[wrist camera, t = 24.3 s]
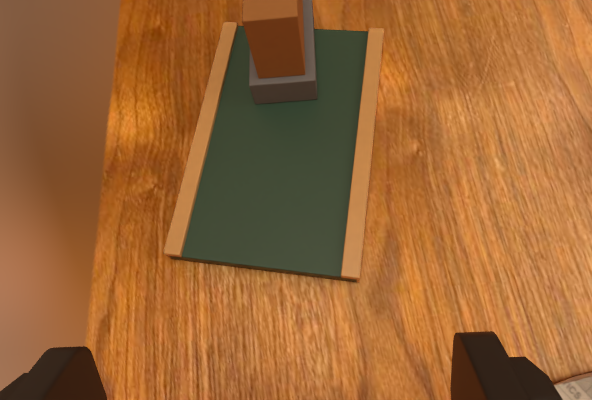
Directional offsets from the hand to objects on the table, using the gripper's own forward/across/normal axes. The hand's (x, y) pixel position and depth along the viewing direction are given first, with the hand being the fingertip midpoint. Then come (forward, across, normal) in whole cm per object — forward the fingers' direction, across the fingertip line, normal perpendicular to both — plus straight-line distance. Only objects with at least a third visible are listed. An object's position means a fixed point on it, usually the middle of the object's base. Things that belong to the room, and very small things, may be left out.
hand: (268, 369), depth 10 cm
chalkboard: (+25, +2, +2) cm, 25 cm away
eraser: (+29, +1, -4) cm, 29 cm away
